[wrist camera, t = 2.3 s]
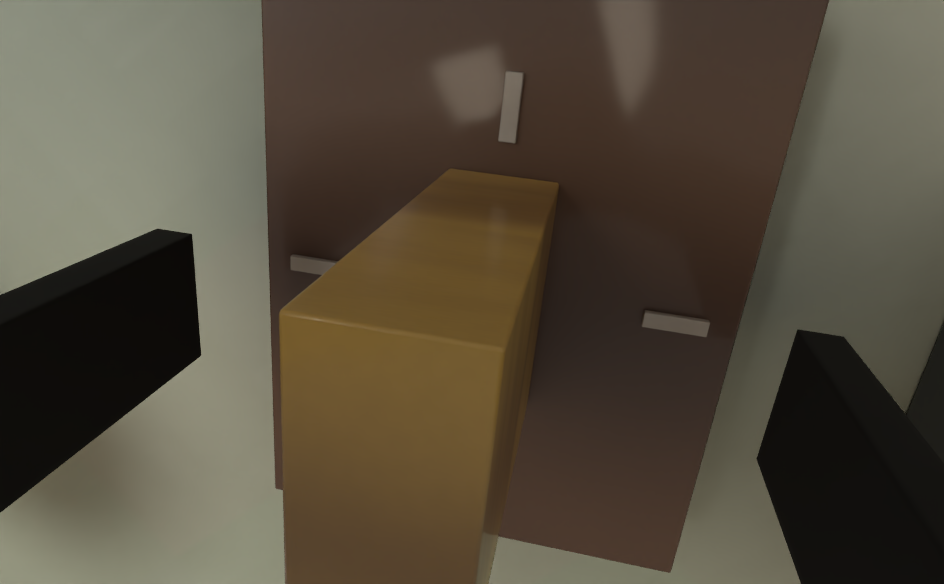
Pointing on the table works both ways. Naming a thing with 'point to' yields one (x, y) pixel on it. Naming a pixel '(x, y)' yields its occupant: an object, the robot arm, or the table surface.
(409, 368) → the tan rectangular block
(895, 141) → the table surface
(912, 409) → the doorbell
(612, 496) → the plate
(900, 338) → the table surface
